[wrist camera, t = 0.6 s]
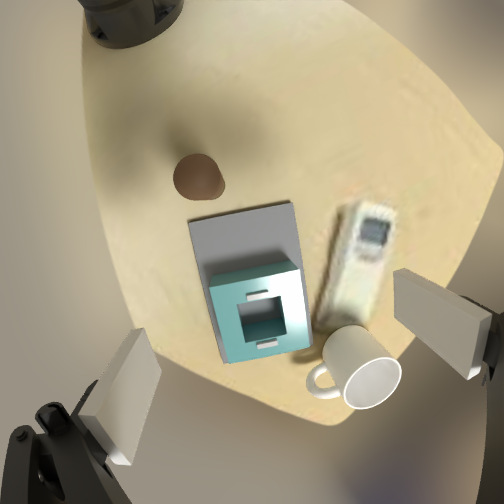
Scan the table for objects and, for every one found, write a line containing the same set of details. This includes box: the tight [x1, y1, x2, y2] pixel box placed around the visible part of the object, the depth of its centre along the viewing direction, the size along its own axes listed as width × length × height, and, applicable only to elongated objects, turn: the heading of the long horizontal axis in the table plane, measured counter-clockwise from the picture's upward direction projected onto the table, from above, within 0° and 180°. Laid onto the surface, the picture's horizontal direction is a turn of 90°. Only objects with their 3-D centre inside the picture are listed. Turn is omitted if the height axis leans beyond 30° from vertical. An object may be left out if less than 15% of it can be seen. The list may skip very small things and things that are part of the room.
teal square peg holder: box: [209, 260, 310, 364], centre depth 34 cm, size 10×10×6 cm
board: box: [188, 203, 313, 364], centre depth 37 cm, size 20×13×1 cm, turn 11°
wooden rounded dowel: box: [173, 154, 225, 200], centre depth 28 cm, size 4×4×14 cm
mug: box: [306, 325, 401, 409], centre depth 35 cm, size 12×8×10 cm
